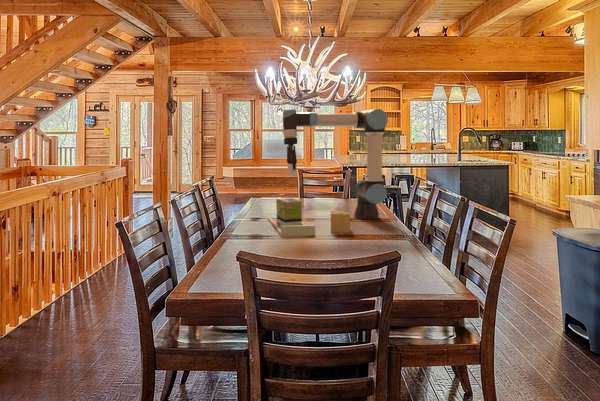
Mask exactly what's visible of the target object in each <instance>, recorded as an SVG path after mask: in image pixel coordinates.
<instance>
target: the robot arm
mask: <svg viewBox="0 0 600 401" xmlns="http://www.w3.org/2000/svg"><path fill="white" fill-rule="evenodd" d="M388 122H389V121H388V115H387V113H386V111H384V110H383V109H381V108H372V109H371V108H370V109H367V110H362V111H354V112H353V113H345V112H344V113H337V112H336V113H332V112H331V113H329V112H328V113H325V112H324V113H320V112H319V113H317V111H314V112H312V111H310V112H309V111H308V112H297V110H296V109H295V108H290V109H289V108H288V109H284V110H283V111H282V128H283V131H282V134H283V137H284V138H283V145H286V164H287V175H288V176H290V175H291V177H297V176H298V175H297V174H298V173H297V172H298V171H297V162H298V161H297V152H296V146H295V145H298V128H297V127H301V128H304V127H353V128H354V129H362V130H363V129H364V134H365V135H366V139H367V140H366V178H365V179H359V180H358V181H357V185H356V186H357V192H356V194H357V195H356V198H357V200H356V208H355V211H354V213H353V218H355V219H359V220H360V219H361V220H376V219H379V218H380V212H379V210H378V206H377V204H381V203H382V202H384V201H385V199H386V197H387V195H388V194H387V192H388V191H387V188H386V187H385V178H383V176H382V175H383V174H382V173H383V135H384V134H385V133H386V126H387V124H388Z"/></svg>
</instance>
